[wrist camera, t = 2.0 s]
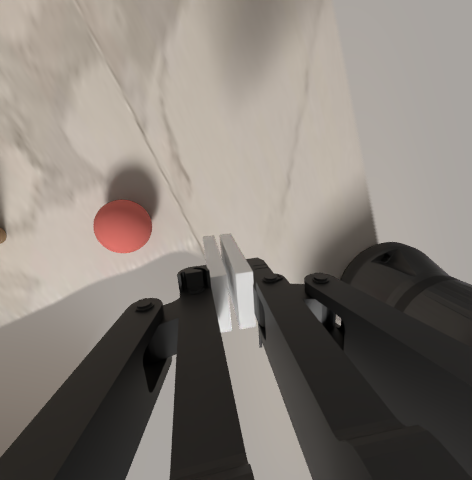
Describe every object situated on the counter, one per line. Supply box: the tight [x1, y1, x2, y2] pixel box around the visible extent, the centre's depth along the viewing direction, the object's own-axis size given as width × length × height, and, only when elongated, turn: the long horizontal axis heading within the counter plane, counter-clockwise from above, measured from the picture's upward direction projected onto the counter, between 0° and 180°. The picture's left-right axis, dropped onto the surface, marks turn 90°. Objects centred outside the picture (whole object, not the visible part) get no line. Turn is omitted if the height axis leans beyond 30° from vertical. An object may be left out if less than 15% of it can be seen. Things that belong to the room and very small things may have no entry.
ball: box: [94, 200, 152, 253], centre depth 28 cm, size 6×6×6 cm
